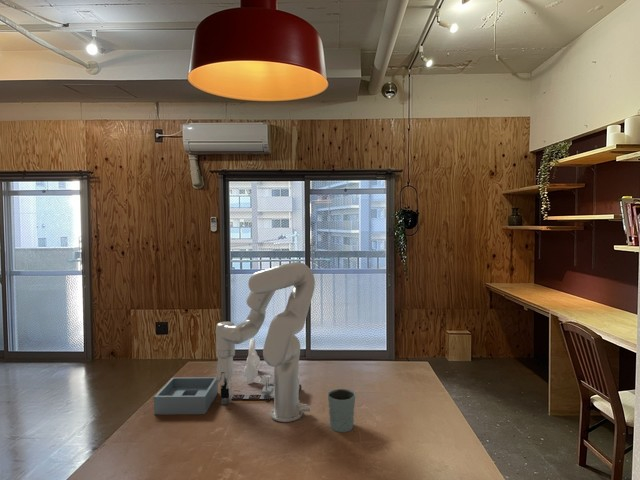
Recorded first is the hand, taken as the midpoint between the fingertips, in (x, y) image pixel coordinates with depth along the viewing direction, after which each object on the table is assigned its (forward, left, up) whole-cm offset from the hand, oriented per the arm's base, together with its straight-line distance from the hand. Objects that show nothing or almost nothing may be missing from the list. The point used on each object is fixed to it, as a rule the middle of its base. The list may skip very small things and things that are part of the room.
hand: (226, 394), depth 168 cm
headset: (-6, -29, -4) cm, 30 cm away
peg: (0, 0, -3) cm, 3 cm away
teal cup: (-47, +20, -4) cm, 51 cm away
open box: (+16, 0, -3) cm, 16 cm away
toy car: (-22, -8, -4) cm, 24 cm away
